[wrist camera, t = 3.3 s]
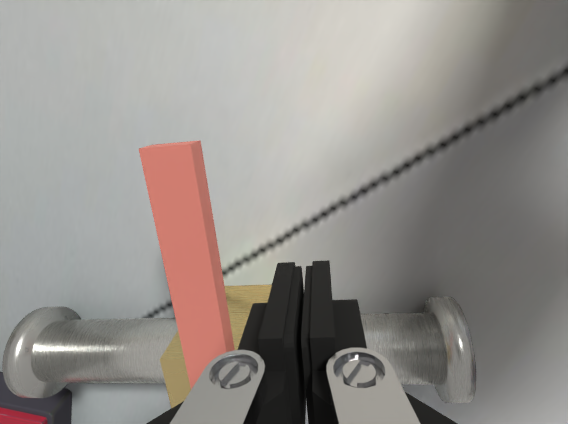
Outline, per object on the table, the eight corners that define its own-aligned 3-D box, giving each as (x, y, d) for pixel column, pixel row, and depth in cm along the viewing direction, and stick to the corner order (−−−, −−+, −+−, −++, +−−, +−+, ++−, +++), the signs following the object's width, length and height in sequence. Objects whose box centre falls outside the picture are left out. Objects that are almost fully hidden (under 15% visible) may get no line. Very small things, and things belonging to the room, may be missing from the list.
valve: (442, 279, 25) (494, 360, 17) (439, 354, 27) (485, 458, 19) (59, 291, 29) (-38, 362, 21) (79, 356, 31) (-3, 442, 23)
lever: (261, 434, 20) (256, 461, 19) (201, 432, 21) (192, 459, 19) (217, 138, 15) (205, 143, 14) (139, 145, 16) (120, 150, 14)
